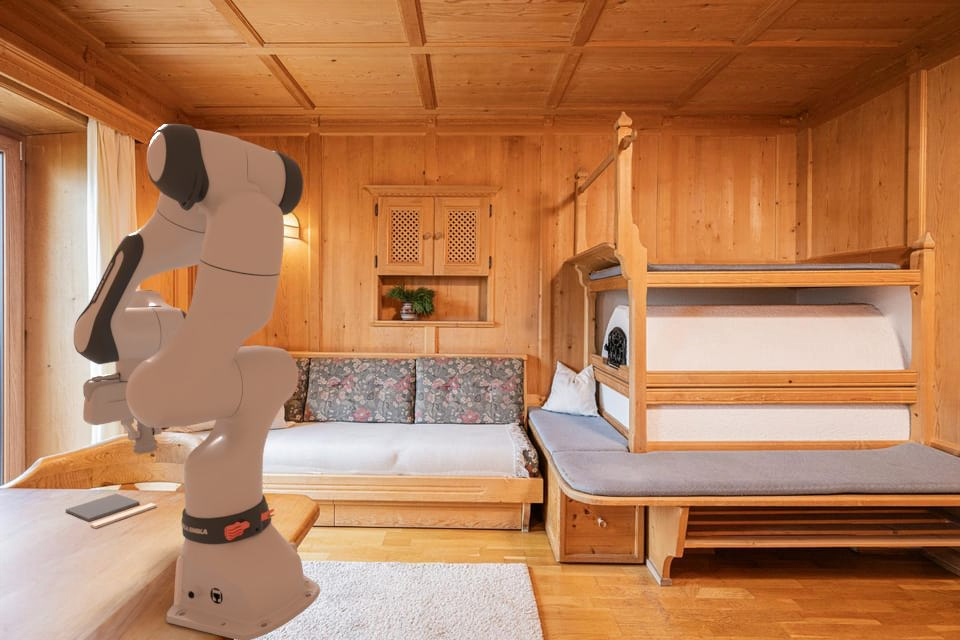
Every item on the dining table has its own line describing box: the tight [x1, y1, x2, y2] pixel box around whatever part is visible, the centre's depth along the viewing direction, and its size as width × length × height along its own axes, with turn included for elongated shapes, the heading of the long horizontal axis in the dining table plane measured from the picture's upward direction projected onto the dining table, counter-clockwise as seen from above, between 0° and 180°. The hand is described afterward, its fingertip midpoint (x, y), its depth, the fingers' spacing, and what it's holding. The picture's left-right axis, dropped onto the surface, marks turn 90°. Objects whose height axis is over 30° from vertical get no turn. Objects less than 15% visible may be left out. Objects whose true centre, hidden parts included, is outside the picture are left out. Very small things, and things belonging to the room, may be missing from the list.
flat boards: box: [65, 493, 157, 529], centre depth 112 cm, size 15×12×1 cm
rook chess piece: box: [132, 418, 159, 455], centre depth 103 cm, size 4×4×8 cm
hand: (145, 437), depth 103 cm, fingers closed on rook chess piece, 3 cm apart
